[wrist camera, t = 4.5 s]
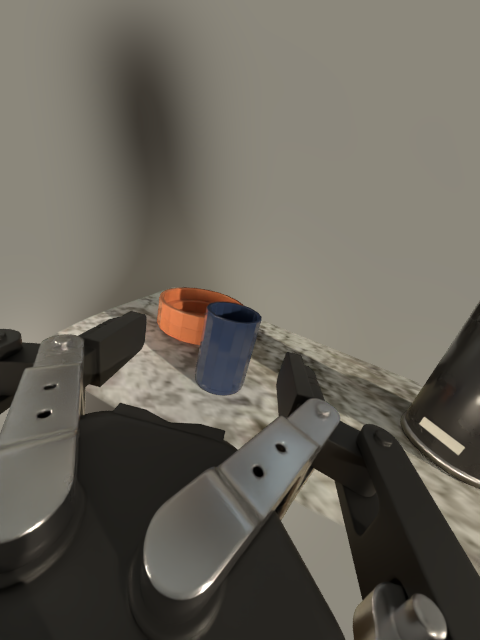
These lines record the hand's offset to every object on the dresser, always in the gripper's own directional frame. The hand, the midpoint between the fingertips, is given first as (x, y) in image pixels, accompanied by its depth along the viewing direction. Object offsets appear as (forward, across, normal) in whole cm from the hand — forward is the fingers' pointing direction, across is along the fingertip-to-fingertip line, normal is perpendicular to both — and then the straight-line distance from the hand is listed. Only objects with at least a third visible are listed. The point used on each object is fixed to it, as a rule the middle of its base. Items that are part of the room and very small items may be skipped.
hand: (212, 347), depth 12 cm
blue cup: (+12, 0, +11) cm, 16 cm away
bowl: (+24, +6, +11) cm, 27 cm away
